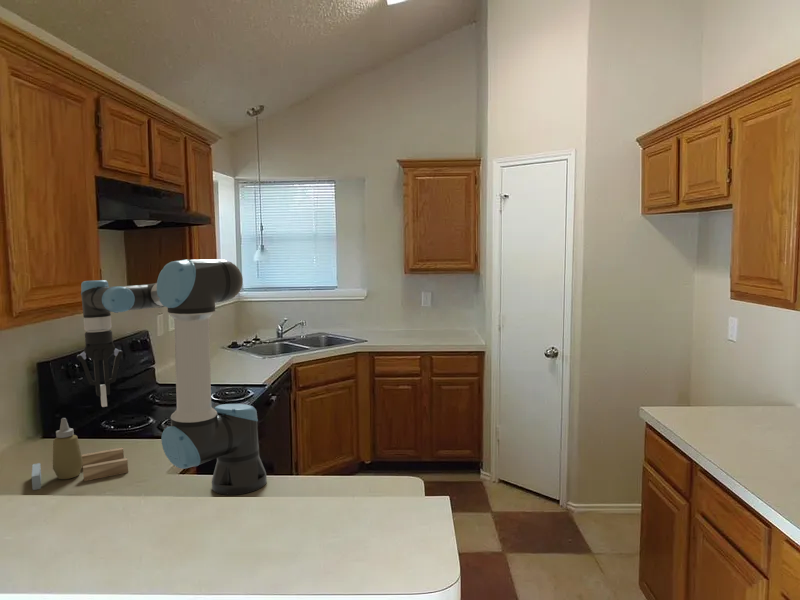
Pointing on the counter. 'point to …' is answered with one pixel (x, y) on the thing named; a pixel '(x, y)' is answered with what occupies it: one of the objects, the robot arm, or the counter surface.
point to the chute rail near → (105, 469)
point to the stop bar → (36, 476)
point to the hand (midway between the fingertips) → (104, 405)
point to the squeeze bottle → (66, 453)
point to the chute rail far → (102, 456)
